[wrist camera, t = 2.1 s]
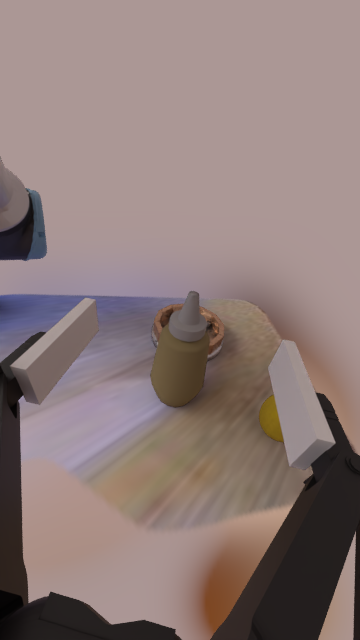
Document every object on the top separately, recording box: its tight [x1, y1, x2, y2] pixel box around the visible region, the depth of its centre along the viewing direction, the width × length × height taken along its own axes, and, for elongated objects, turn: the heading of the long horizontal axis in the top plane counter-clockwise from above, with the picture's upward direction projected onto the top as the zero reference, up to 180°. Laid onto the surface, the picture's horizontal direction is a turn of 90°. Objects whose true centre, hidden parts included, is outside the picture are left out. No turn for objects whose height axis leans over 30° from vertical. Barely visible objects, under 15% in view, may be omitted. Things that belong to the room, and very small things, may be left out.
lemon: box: [259, 395, 284, 442], centre depth 30 cm, size 6×6×8 cm
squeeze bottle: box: [150, 291, 210, 407], centre depth 30 cm, size 8×8×18 cm
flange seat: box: [152, 304, 224, 361], centre depth 45 cm, size 15×15×4 cm
